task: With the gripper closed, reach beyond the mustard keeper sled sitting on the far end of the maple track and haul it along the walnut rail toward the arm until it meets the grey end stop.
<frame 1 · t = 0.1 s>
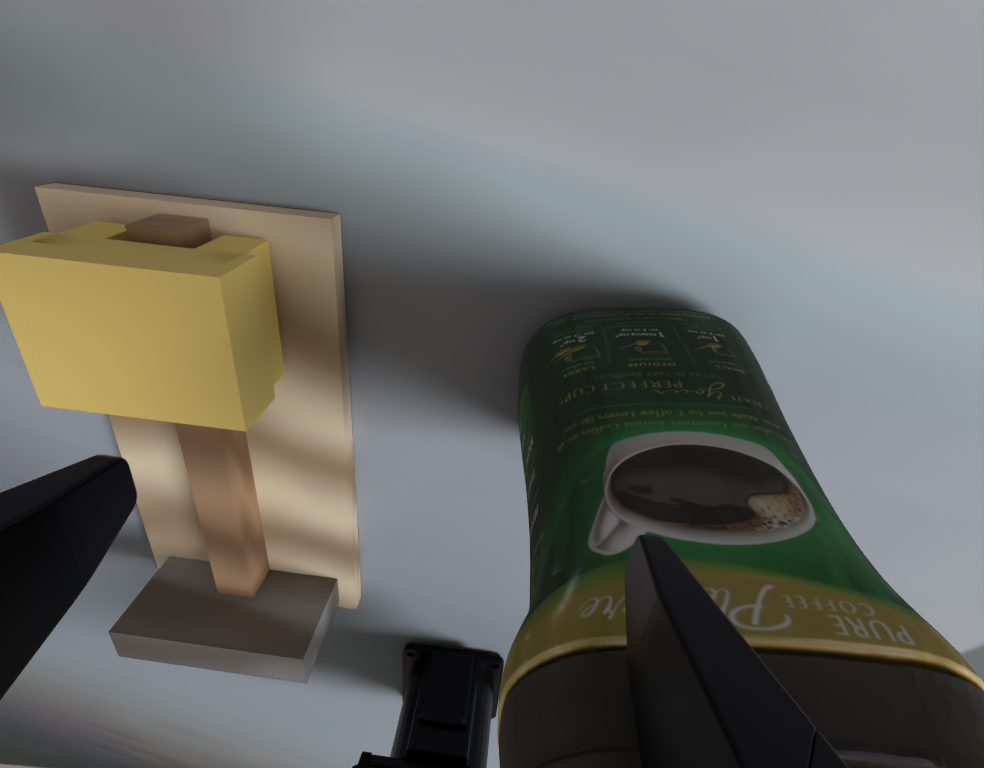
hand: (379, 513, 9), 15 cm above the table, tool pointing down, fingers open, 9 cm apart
keeper: (162, 322, 21), point 4 cm above the table, slide at 0.0 cm
track: (238, 430, 28), on the table
coffee jar: (628, 379, 24), on the table, touching gripper
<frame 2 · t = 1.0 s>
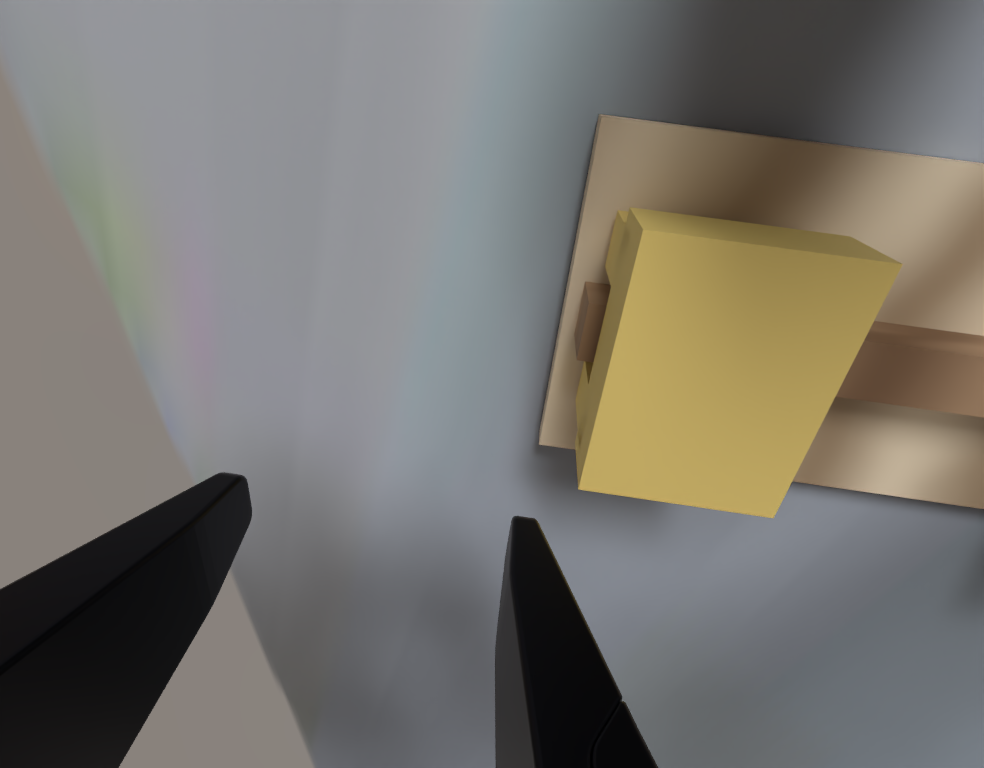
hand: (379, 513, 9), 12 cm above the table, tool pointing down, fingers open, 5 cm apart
keeper: (697, 355, 16), point 4 cm above the table, slide at 0.0 cm
track: (882, 340, 19), on the table
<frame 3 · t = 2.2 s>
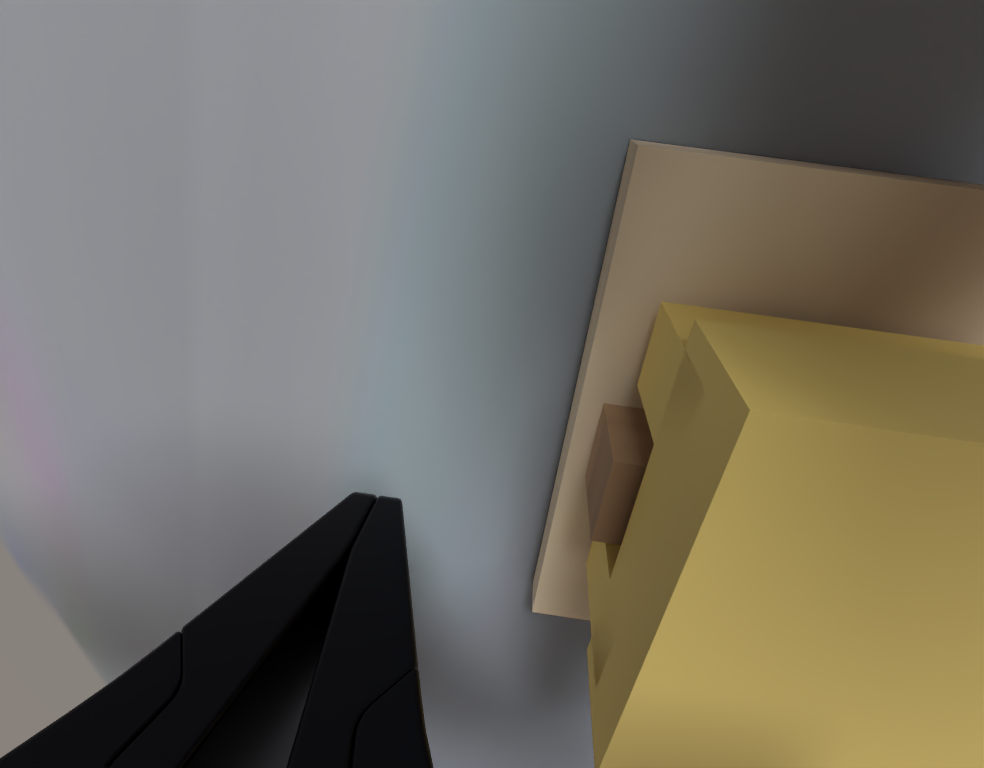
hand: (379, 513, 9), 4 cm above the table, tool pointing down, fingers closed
keeper: (798, 552, 10), point 4 cm above the table, slide at 0.0 cm
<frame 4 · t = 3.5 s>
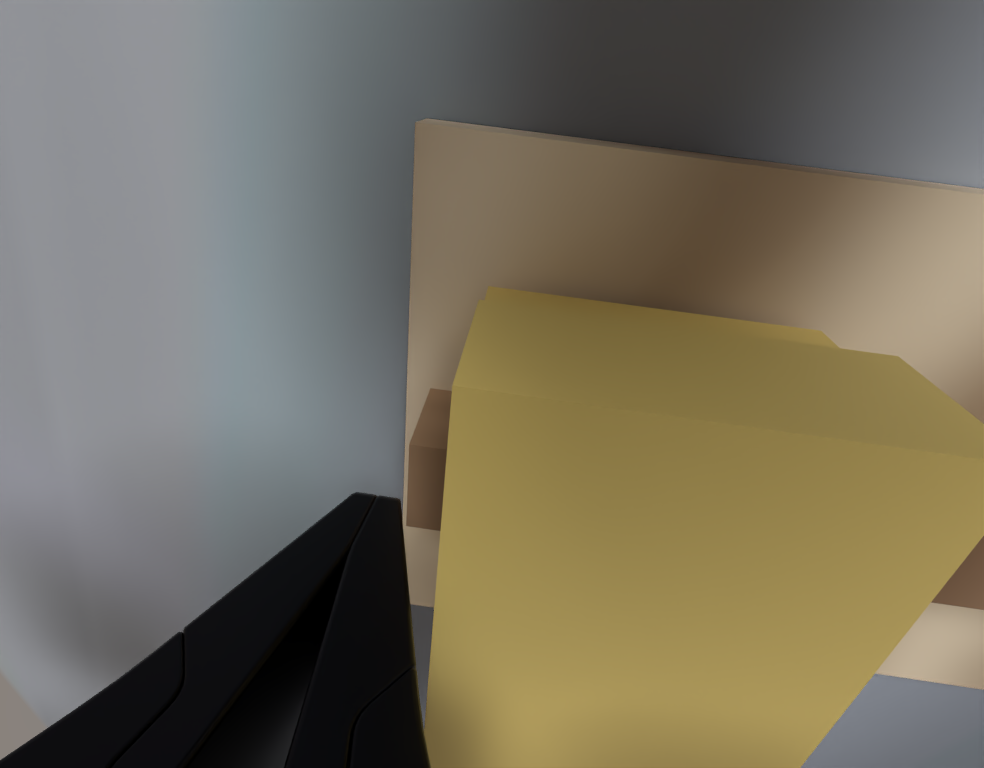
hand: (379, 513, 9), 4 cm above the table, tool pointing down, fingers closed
keeper: (624, 540, 9), point 4 cm above the table, slide at 0.5 cm, touching gripper
track: (907, 468, 12), on the table
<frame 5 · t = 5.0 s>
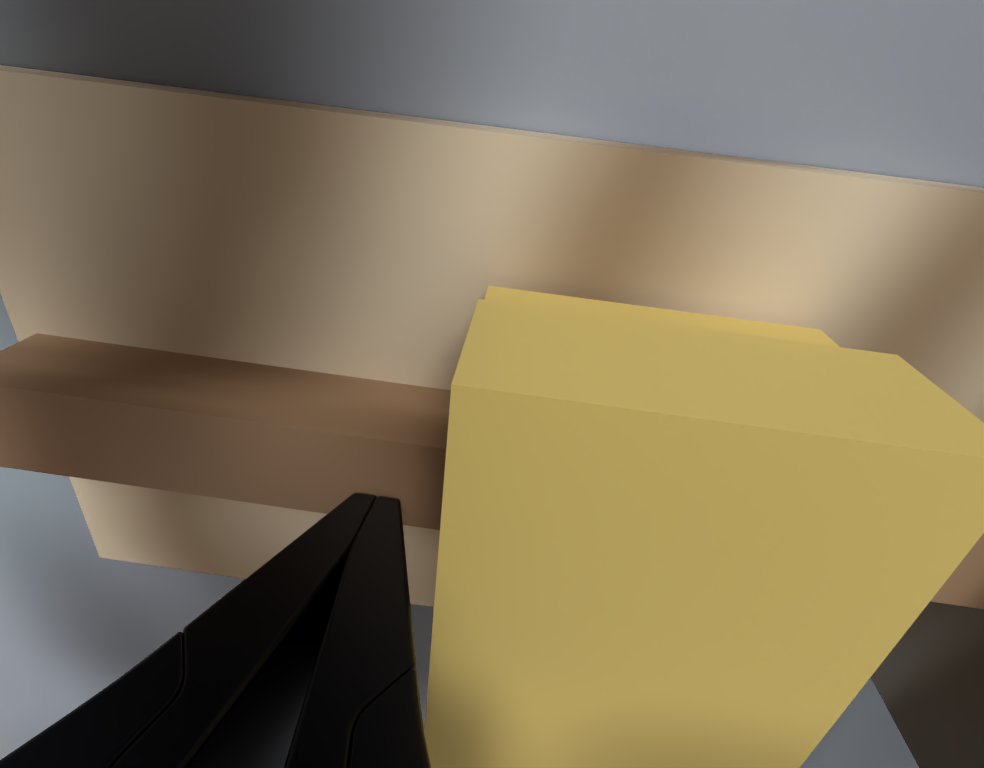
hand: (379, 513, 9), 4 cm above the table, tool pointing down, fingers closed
keeper: (624, 539, 9), point 4 cm above the table, slide at 9.1 cm, touching gripper
track: (539, 417, 13), on the table
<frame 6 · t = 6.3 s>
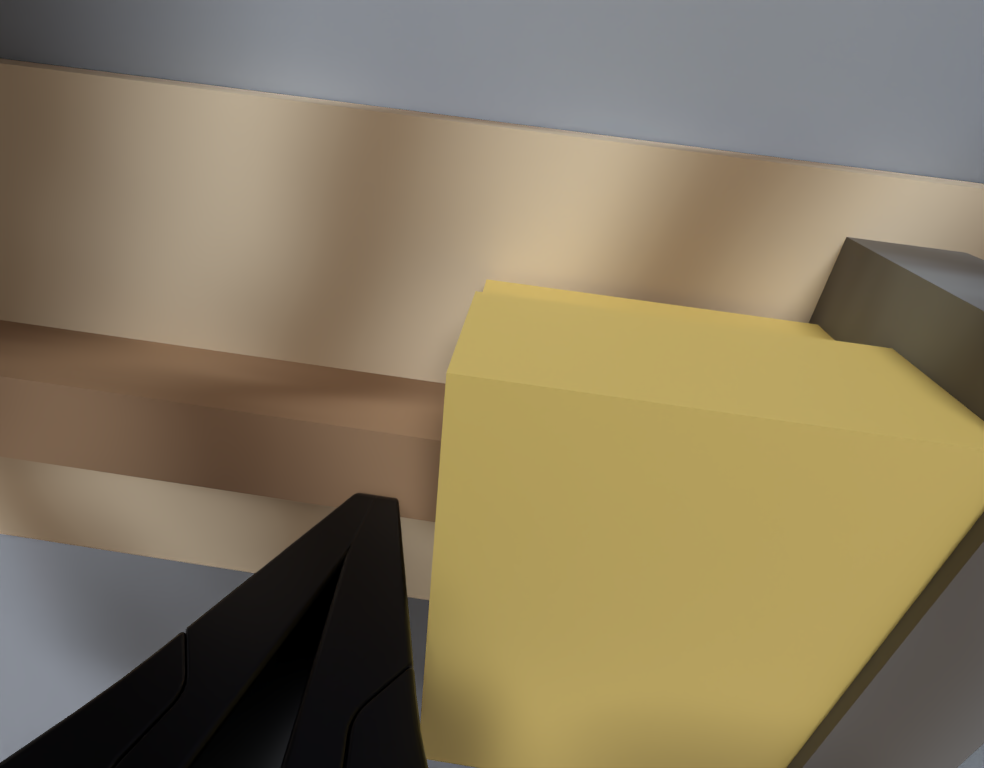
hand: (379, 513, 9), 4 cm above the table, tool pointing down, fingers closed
keeper: (620, 531, 10), point 4 cm above the table, slide at 13.5 cm, touching gripper, track
track: (352, 384, 13), on the table
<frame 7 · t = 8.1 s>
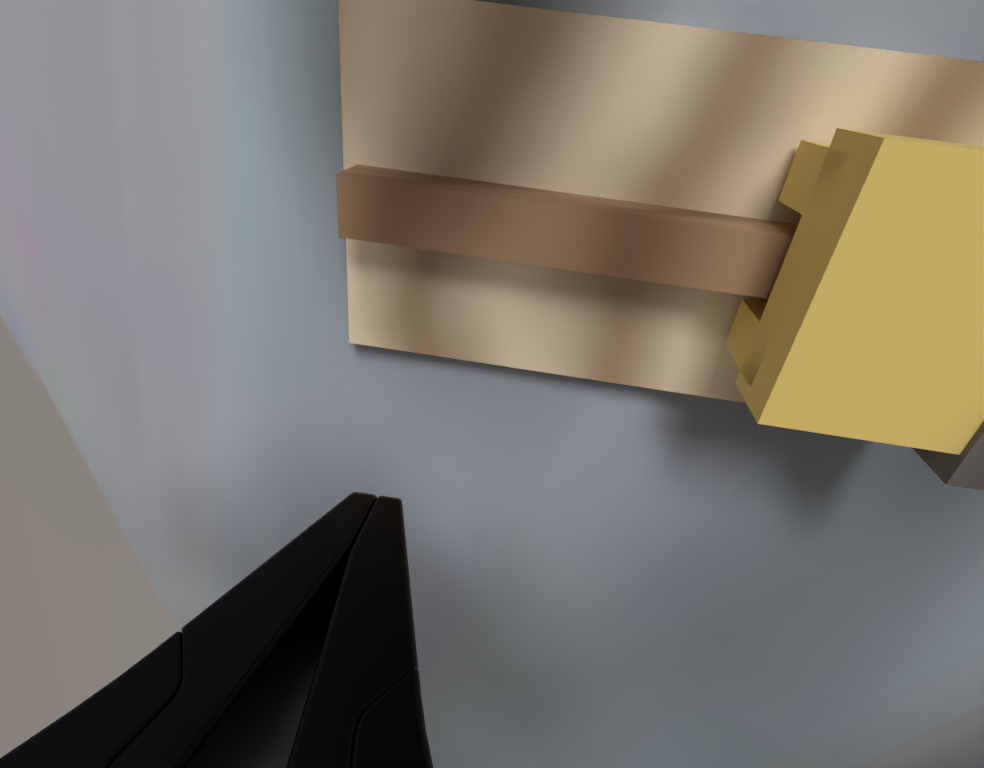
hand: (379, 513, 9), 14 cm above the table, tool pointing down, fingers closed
keeper: (883, 288, 16), point 4 cm above the table, slide at 13.5 cm, touching track
track: (664, 230, 19), on the table
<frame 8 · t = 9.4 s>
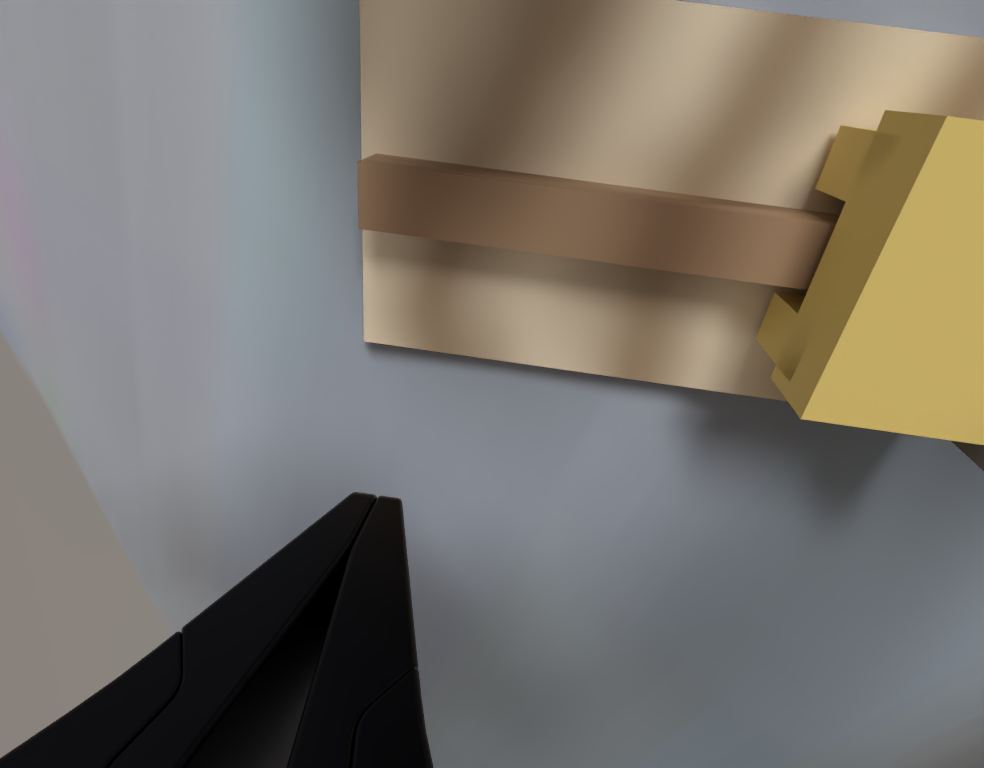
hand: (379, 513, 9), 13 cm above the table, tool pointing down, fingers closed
keeper: (928, 277, 16), point 4 cm above the table, slide at 13.5 cm, touching track
track: (693, 221, 19), on the table
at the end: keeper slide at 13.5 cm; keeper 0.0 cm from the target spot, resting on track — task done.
